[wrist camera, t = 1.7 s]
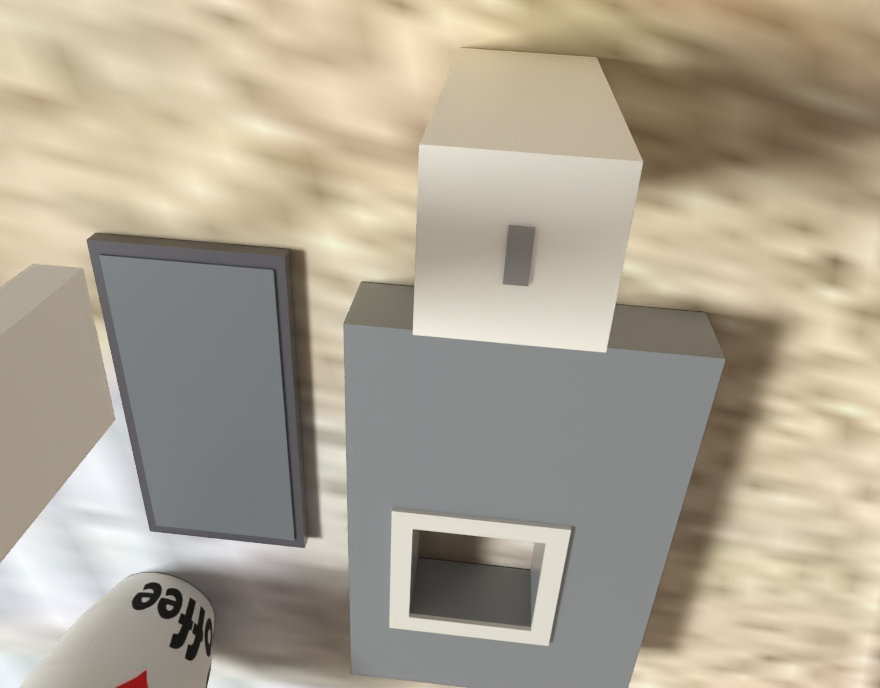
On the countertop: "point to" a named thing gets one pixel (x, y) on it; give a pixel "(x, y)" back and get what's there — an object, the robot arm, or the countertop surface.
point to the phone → (207, 383)
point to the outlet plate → (516, 492)
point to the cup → (135, 639)
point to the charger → (523, 202)
